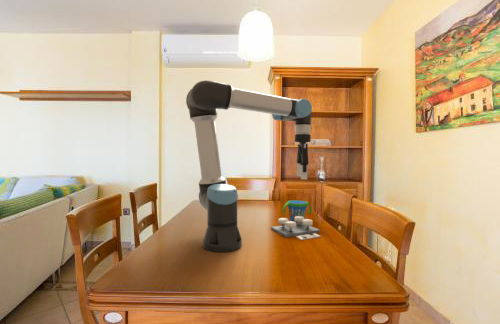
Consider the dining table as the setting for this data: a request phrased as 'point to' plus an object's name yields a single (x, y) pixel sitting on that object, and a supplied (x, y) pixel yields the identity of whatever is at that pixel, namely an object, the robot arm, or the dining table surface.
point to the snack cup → (297, 209)
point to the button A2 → (282, 221)
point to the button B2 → (299, 219)
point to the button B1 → (307, 222)
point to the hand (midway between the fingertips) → (301, 177)
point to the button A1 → (290, 224)
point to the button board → (295, 230)
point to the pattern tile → (308, 236)
